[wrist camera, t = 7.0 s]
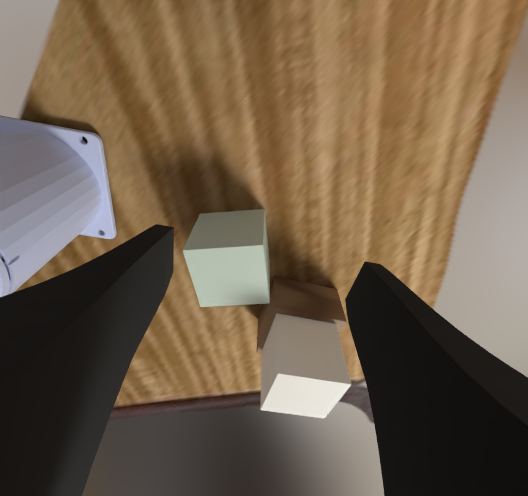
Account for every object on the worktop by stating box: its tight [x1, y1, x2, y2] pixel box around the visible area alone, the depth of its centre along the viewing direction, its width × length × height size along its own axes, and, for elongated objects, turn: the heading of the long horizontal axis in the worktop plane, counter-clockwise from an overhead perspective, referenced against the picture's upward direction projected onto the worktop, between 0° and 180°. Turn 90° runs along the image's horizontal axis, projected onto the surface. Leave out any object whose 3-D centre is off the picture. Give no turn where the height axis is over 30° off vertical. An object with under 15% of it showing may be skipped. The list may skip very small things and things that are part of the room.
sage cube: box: [183, 209, 270, 307], centre depth 20 cm, size 5×5×5 cm
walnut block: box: [257, 276, 347, 353], centre depth 25 cm, size 6×6×4 cm
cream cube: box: [261, 313, 352, 418], centre depth 21 cm, size 5×5×5 cm
